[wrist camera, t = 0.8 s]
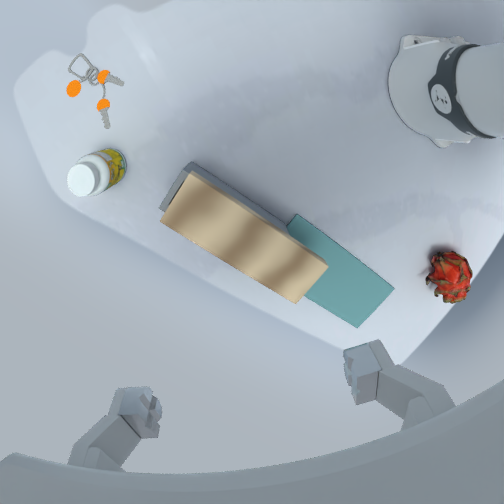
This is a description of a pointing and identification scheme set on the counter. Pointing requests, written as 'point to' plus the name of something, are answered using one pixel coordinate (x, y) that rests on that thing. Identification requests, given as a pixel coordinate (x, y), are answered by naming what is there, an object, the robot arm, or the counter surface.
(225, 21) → the counter surface
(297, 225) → the teal mat
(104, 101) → the key chain
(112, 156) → the supplement bottle
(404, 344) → the counter surface
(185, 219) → the oak lid
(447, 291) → the dragon fruit
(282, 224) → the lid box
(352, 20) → the counter surface
